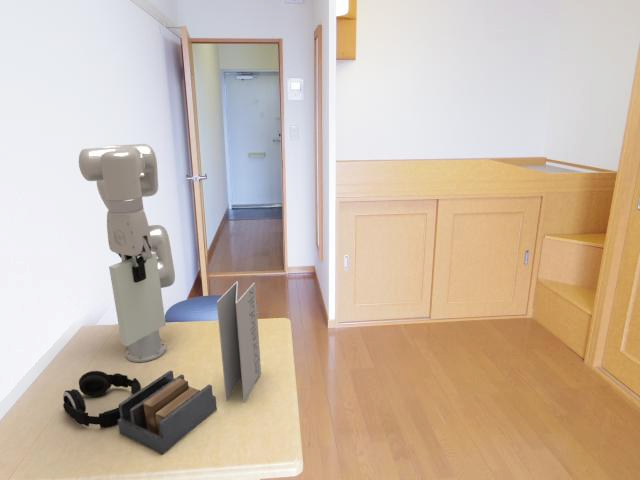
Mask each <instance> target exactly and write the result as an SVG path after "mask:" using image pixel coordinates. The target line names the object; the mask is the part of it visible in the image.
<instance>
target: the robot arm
mask: <svg viewBox="0 0 640 480" xmlns="http://www.w3.org/2000/svg"><path fill="white" fill-rule="evenodd" d="M78 167H79V171H80V173H81V175H82V177H83V178H84V180H86V181H87V182H96V187H97V191H98V194H99V196H100V198H101V200H102V202H103V204H104V206H105V207H106V209H107V212H106V213H107V214H106V231H107V232H106V233H107V241H108V246H109V250H110V251H111V252H112V253H115V254H116V255H118V257H120V259H121V262H123V261H126V260H128V259H131V258H132V259H133V265H134V266H133V267H132V271H133V278H134V282H135V283H137V282H140V281H142V280H145V279H146V272H145V265H144V264H146V260H147V259H150V258H152V253H151V252H156V255H157V263H158V270H159V278H160V286H161V289H162V288H167V287H168V288H169V287H171V286H173V285H174V283H175V281H176V274H175V265H174V261H173V260H174V259H173V254H172V248H171V243H170V237H169V234H168V231H167V230H166V227H164V226H162V225H161V224H160V225H159V224H151V225H149V222H148V219H147V214H146V212H145V210H144V209H145V208H144V203H143V201H144V200H143V198H146V197H152V196H154V195H156V194H157V193H158V190H159V178H158V177H159V176H158V161H157V156H156V153H155V151H154V149H153V148H152V147H151V145H149V144H146V143H138V144H136V143H135V144H121V145H119V144H115V145H114V144H113V145H105V146H102V147H101V146H100V147H95V148H84V149H83V148H82V149H81V151H80V152H79V155H78ZM137 256H140V257H139V258H137ZM159 329H160V328H159ZM159 329H158V330H156V331H154V332H152V333H150V334H149V335H147V336H145V337H143V338H141V339H139V340H138V341H136V342H134V343H132V344H130V345H129V346H128V348H127V350H126V351H125V357H126V359H127V360H128V361H130V362H133V363H143V362H144V363H146V362H150V361H153V360H157V359H158V358H160V357H161V356H162V355H163V354H164V353H166V350H167V345H166V343H165V342H164V341H162V340H161V337H160V330H159Z"/></svg>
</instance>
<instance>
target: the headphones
mask: <svg viewBox="0 0 640 480" xmlns="http://www.w3.org/2000/svg"><path fill="white" fill-rule="evenodd" d="M128 376H129V375H127V374H125V375H124V374H121V373H117V372H116V373H113V374H108V373H106V372H104V371H99V370H90V371H88V372H86V373H83V375H81V376H80V378H79V380H78V385H79V390H80V391H79V390H78V389H75V388H73V389H71V390H64V391H63V394H62V399H63V404H62V407H63V410H64V411H65V413H66V414H67V416H69V417H70V418H71V419H73V421H75V423H77V424H78V425H79V426H85V427H89V426H90V425H95V426H99V428H100V429H105V428H106V429H107V428H111V427H115V426H118V421H117V420H119V419H120V418H121V416H120V411H119V406H118V407H116V408H113V409H110V410H107V411H104V412H101V413H98V416H97V415H94V416H93V415H89V412H86V410H87V408H86V402H85V400H84V397H83V395H85V396H87V397H92V398H93V397H100V396H102V395H104V394H106V392H108V390H109V389H110V388H111V387H112V386H114V387H115V388H116V387H117V388H120V387H123V388H129V387H130V388H131V389H130V390H131V391H130V393H131V396H132V395H134V394H135V393H137V392H138V391H140V390H141V389H142V385H141V383H140V382H139V381H140V380H138V379H137V378H136V377H134V378H133V379H130V378H129V377H128ZM81 393H82V394H83V395H82V394H81Z"/></svg>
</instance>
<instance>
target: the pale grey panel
mask: <svg viewBox="0 0 640 480" xmlns="http://www.w3.org/2000/svg"><path fill="white" fill-rule="evenodd" d="M151 253H152V258H150V259H147V260H146V264H144V265H145V272H146V279H145V280H142V281H140V282H137V283H135V282H134V278H133V271H132V267H133V266H134V265H133V259H132V258H131V259H128V260H126V261H123V262H122V261H120V262H118V263H116V264H113V265H110V266H108V269H109V276H110V281H111V288H112V292H113V293H112V294H113V299H114V305H115V312H116V318H117V322H118V323H117V324H118V330H119V335H120V336H119V337H120V342H121V345H123V346H126V347H129V345H130V344H132V343H134V342H136V341H138V340H139V339H141V338H143V337H145V336H147V335H149V334H150V333H152V332H154V331H156V330H158V329H161V328H163V327H165V326H166V324H167V323H166V317H165V309H164V303H163V295H162V288H161V286H160V278H159V270H158V263H157V259H158V257H157V255H156V252H151ZM139 257H140V256H137V258H139Z"/></svg>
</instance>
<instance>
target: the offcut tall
mask: <svg viewBox="0 0 640 480" xmlns="http://www.w3.org/2000/svg"><path fill="white" fill-rule="evenodd" d="M188 386H189V383H188V380H185V379H184V380H183V379H180V378H179V379H178V380H176V381H175V382H173V383H172V384H170V385H169V386H167V387H166V388H165V389H163V390H162V391H160V392H159V393H157V394H156V395H154V396H153V397H152V398H150V399H149V400H147V401H146V402H144V403H143V404H144V411H145V417H146V424H147V430H148V431H150V432H152V433H154V434H156V435H158V436H159V434H158V427H157V420H156V414H155V413H157V412H158V411H159V410H161V409H162V408H163V407H165V406H166V405H168V404H169V403H170V402H172V401H173V400H174V399H176V398H177V397H178V396H180V395H181V394H183V393H184V392H185V391H187V390H188V389H189V388H188Z"/></svg>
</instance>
